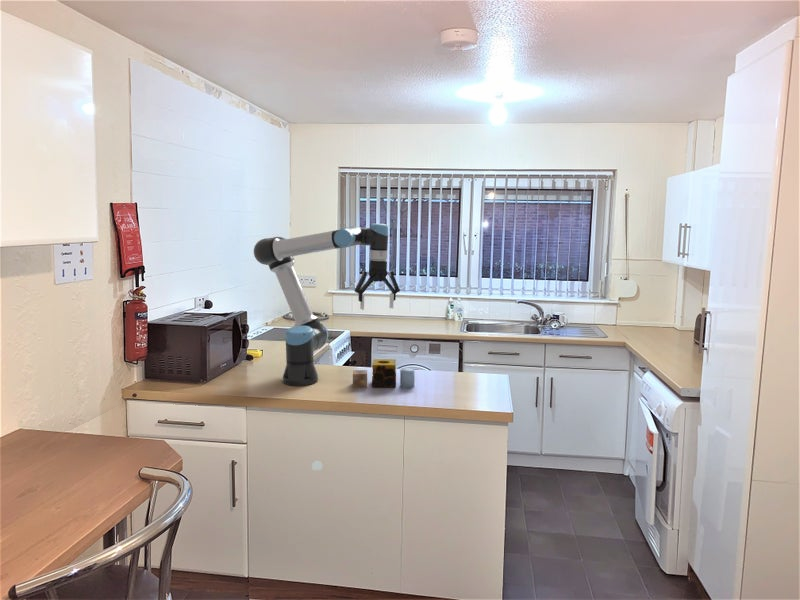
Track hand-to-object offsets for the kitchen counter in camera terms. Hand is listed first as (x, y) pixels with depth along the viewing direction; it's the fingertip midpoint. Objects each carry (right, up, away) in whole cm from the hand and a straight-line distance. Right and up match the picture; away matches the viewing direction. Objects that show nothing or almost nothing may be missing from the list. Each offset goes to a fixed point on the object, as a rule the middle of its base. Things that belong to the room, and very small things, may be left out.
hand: (376, 308), depth 260 cm
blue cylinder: (+13, -33, -7) cm, 36 cm away
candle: (+3, -33, -5) cm, 33 cm away
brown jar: (-7, -33, -6) cm, 34 cm away
